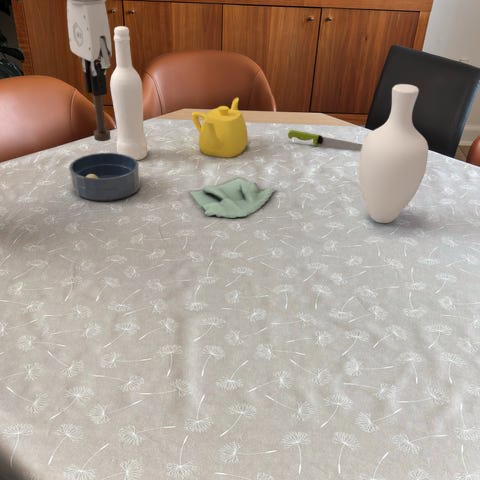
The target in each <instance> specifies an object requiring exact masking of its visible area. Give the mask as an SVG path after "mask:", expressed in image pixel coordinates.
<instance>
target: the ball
mask: <svg viewBox="0 0 480 480" xmlns="http://www.w3.org/2000/svg"><path fill="white" fill-rule="evenodd" d="M86 177H88V178H98V177H97V176H96V175H94V174H89V175H87V176H86Z"/></svg>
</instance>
